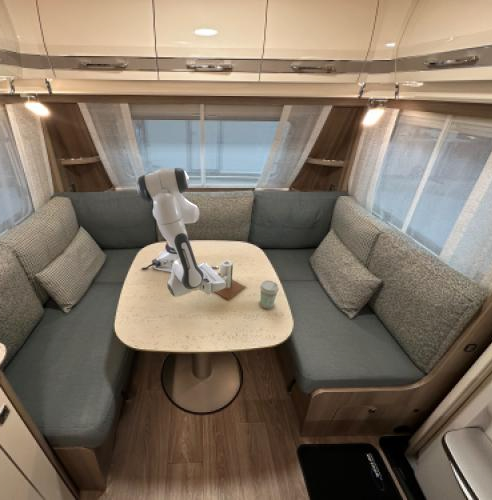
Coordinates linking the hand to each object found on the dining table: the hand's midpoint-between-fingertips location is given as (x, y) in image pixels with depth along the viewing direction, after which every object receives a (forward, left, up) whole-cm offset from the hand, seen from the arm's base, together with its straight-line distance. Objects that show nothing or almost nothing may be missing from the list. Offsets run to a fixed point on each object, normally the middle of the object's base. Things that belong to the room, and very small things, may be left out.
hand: (223, 271), depth 137 cm
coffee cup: (+22, -12, -10) cm, 27 cm away
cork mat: (0, 0, -10) cm, 10 cm away
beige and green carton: (+1, +1, -9) cm, 9 cm away
